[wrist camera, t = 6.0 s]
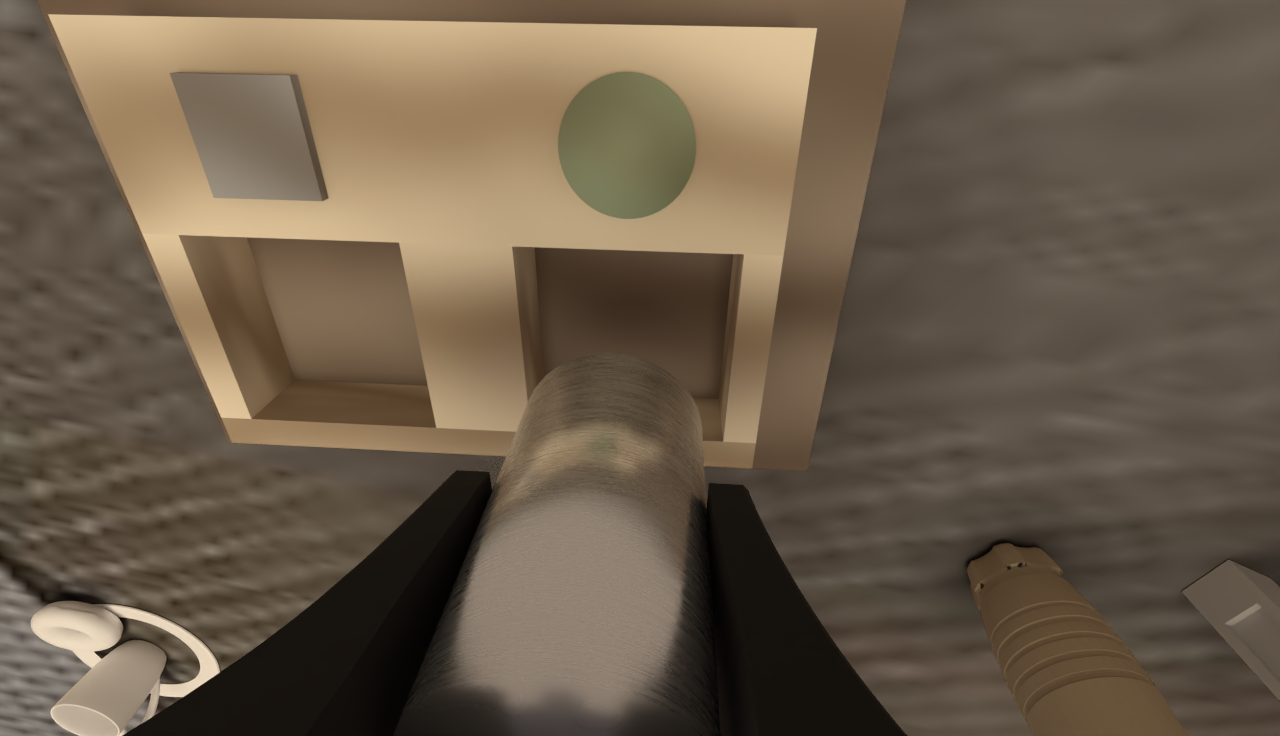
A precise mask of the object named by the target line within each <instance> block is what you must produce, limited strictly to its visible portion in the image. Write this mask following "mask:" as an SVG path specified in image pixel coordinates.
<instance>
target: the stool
mask: <svg viewBox="0 0 1280 736" xmlns="http://www.w3.org/2000/svg"><path fill="white" fill-rule="evenodd" d="M1181 592H1182V593H1183V594H1184V595H1185V596H1186V597H1187V598H1188V599H1189V601H1190V602H1191V603H1192V604H1193V605H1194V606H1195V607H1196V608H1197V609H1198V611H1199V612H1200V613H1201V614H1202V615H1203V616H1204V617H1205V618H1206V619H1207V621H1208V622H1209V623H1210V624H1211V625H1212V626H1213V627H1214V628H1215V630H1216V631H1217V632H1218V633H1219V634H1220V635H1221V636H1222V637H1223V638H1224V640H1225V641H1226V642H1227V643H1228V644H1229V645H1230V646H1231V647H1232V648H1233V650H1234V651H1235V652H1236V653H1237V654H1238V655H1239V656H1240V657H1241V658H1242V660H1243V661H1244V662H1245V663H1246V664H1247V665H1248V666H1249V667H1250V668H1251V670H1252V671H1253V672H1254V673H1255V674H1256V675H1257V676H1258V677H1259V678H1260V680H1261V681H1262V682H1263V683H1264V684H1265V685H1266V686H1267V687H1268V688H1269V690H1270V691H1271V692H1272V693H1273V694H1274V695H1275V696H1276V697H1277V698H1278V700H1279V701H1280V587H1279V586H1278V585H1277V584H1276V583H1275V582H1274V581H1273V580H1272V579H1271V578H1269V577H1267V576H1264V575H1262V574H1260V573H1258V572H1255V571H1253V570H1251V569H1249V568H1246V567H1244V566H1242V565H1240V564H1237V563H1235V562H1233V561H1231V560H1227V561H1226V562H1224V563H1223V564H1221V565H1220V566H1218V567H1217V568H1215V569H1214V570H1212V571H1211V572H1209V573H1208V574H1207V575H1205V576H1204V577H1202V578H1201V579H1199V580H1198V581H1196V582H1195V583H1193V584H1192V585H1190V586H1189V587H1187V588H1186V589H1184V590H1183V591H1181Z"/></svg>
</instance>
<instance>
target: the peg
mask: <svg viewBox="0 0 1280 736" xmlns="http://www.w3.org/2000/svg"><path fill="white" fill-rule="evenodd" d="M393 736H720V720H719V703H718V686H717V669H716V653H715V636H714V619H713V603H712V586H711V569H710V555H709V541H708V524H707V502H706V485H705V469H704V452H703V435H702V423H701V417H700V413H699V410H698V407H697V405H696V403H695V401H694V399H693V397H692V396H691V394H690V393H689V391H688V390H687V389H686V387H685V386H684V385H683V384H682V383H681V382H680V381H679V380H678V379H677V378H675V377H674V376H673V375H672V374H671V373H669V372H668V371H666V370H664V369H663V368H661V367H660V366H658V365H655V364H653V363H651V362H649V361H646V360H643V359H640V358H637V357H633V356H628V355H622V354H594V355H587V356H583V357H579V358H576V359H573V360H571V361H568V362H566V363H564V364H562V365H560V366H558V367H557V368H555V369H554V370H552V371H551V372H550V373H548V374H547V375H546V376H545V377H544V378H543V379H542V380H541V381H540V382H539V384H538V385H537V386H536V388H535V389H534V391H533V393H532V395H531V397H530V399H529V401H528V404H527V406H526V409H525V411H524V414H523V416H522V418H521V421H520V423H519V426H518V428H517V431H516V433H515V436H514V438H513V441H512V443H511V446H510V448H509V451H508V453H507V455H506V458H505V460H504V463H503V465H502V468H501V470H500V473H499V475H498V478H497V480H496V483H495V485H494V487H493V490H492V492H491V495H490V497H489V500H488V502H487V505H486V507H485V510H484V512H483V515H482V517H481V519H480V522H479V524H478V527H477V529H476V532H475V534H474V537H473V539H472V542H471V544H470V547H469V549H468V551H467V554H466V556H465V559H464V561H463V564H462V566H461V569H460V571H459V574H458V576H457V579H456V581H455V584H454V586H453V588H452V591H451V593H450V596H449V598H448V601H447V603H446V606H445V608H444V611H443V613H442V616H441V618H440V620H439V623H438V625H437V628H436V630H435V633H434V635H433V638H432V640H431V643H430V645H429V648H428V650H427V652H426V655H425V657H424V660H423V662H422V665H421V667H420V670H419V672H418V675H417V677H416V680H415V682H414V684H413V687H412V689H411V692H410V694H409V697H408V699H407V702H406V704H405V707H404V709H403V712H402V714H401V716H400V719H399V721H398V724H397V726H396V729H395V731H394V735H393Z"/></svg>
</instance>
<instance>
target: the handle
mask: <svg viewBox="0 0 1280 736" xmlns="http://www.w3.org/2000/svg"><path fill="white" fill-rule="evenodd" d="M967 573H968V577H969V580H970V582H971V584H970V588H971V591H972V595H973V598H974V600H975V603H976V605H977V608H978V610H979V611H980V613H981V616H982V620H983V624H984V627H985V630H986V633H987V636H988V638H989V641H990V644H991V647H992V649H993V652H994V654H995V657H996V659H997V661H998V664H999V665H1000V668H1001V671H1002V673H1003V676H1004V678H1005V680H1006V682H1007V683H1008V686H1009V689H1010V691H1011V693H1012V695H1013V697H1014V699H1015V700H1016V702H1017V704H1018V707H1019V708H1020V710H1021V712H1022V714H1023V716H1024V718H1025V720H1026V721H1027V722H1028V725H1029V728H1030V729H1031V731H1032V733H1033V735H1034V736H1188V735H1187V733H1186V732H1185V730H1184V729H1183V727H1182V725H1181V724H1180V722H1179V721H1178V719H1177V718H1176V716H1175V715H1174V713H1173V711H1172V710H1171V708H1170V707H1169V705H1168V704H1167V702H1166V701H1165V699H1164V698H1163V696H1162V694H1161V693H1160V692H1159V691H1158V690H1157V689H1156V687H1155V685H1154V683H1153V682H1152V680H1151V679H1150V677H1149V676H1148V675H1147V673H1146V672H1145V671H1144V670H1143V668H1142V667H1141V665H1140V664H1139V662H1138V661H1137V660H1136V658H1135V657H1134V656H1133V654H1132V653H1131V652H1130V651H1129V649H1128V648H1127V647H1126V645H1125V644H1124V643H1123V641H1122V640H1121V639H1120V638H1119V636H1118V635H1117V634H1116V633H1115V632H1114V631H1113V629H1112V628H1111V627H1110V626H1109V624H1108V623H1107V622H1106V621H1105V620H1104V619H1103V618H1102V617H1101V615H1100V614H1099V613H1098V612H1097V611H1096V609H1095V608H1094V607H1093V606H1092V605H1091V604H1090V603H1089V602H1088V601H1087V600H1086V599H1085V598H1084V597H1083V595H1082V594H1081V593H1080V592H1079V591H1078V590H1076V589H1075V588H1074V587H1073V586H1072V585H1071V584H1070V583H1069V582H1068V581H1067V580H1065V579H1063V578H1061V577H1060V576H1061V574H1062V573H1064V572H1063V571H1062V570H1061V569H1060V568H1059V567H1058V565H1057V564H1056V563H1055V562H1054V561H1053V560H1052V559H1051V558H1050V557H1049V556H1048V555H1047V554H1046V553H1045V552H1044V551H1043V550H1041V549H1039V548H1036V547H1032V548H1023V547H1016V546H1013V545H1012V544H1010V543H1002V544H998V545H995V546H993V548H992V550H991V551H990V552H988V553H987V554H985V555H984V556H982V557H980V558H979V559H976V560H973V561H971V562H970V564H969V566H968V568H967Z"/></svg>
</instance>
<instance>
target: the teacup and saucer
mask: <svg viewBox="0 0 1280 736" xmlns="http://www.w3.org/2000/svg"><path fill="white" fill-rule="evenodd" d="M118 617H124V618H131V619H136V620H140V621H144V622H147V623H150V624H153V625H155V626H158V627H160V628H162V629H164V630H166V631H168V632H170V633H172V634H173V635H175V636H176V637H178V638H179V639H181V640H182V641H183V642H185V643H186V644H187V645H188V646H189V647H190V648H191V649H192V650H193V651H194V653H195V654H196V655H197V657H198V659H199V662H200V673H199V674H198V676H197V677H196V678H195V679H193V680H192V681H190V682H187V683H183V684H174V685H168V684H160V675H161V673H162V671H163V669H164V666H165V663H166V660H167V657H166V654H165V653H164V651H163V650H161V649H160V648H159V647H157V646H156V645H154V644H152V643H149V642H146V641H142V640H130V641H127V642H125V643H123V644H122V645H120V646H118V647H117V648H116V649H114V650H113V651H111V652H110V653H109V654H108V655H106V656H105V657H104V658H103V659H101V658H100V657H98V656H97V655H96V654H95V653H94V652H93V651H100V650H104V649H107V648H110V647H112V646H113V645H115V644H116V643H117V642H118V641H119V640H120V638H121V635H122V632H123V625H122V622H121V620H120V619H119V618H118ZM31 628H32V630H33V632H34V633H35V634H36V635H37V636H38V637H40V638H41V639H43V640H44V641H46V642H48V643H50V644H52V645H55V646H58V647H61V648H65V649H69V650H72V651H73V652H74V653H75V654H76V655H77V656H78V657H79V658H80V659H81V660H82V661H83V662H84V663H86V664H87V665H88V666H90V667H91V668H92V669H91V670H90V671H89V672H88V673H87V674H86V675H85V676H84V677H83V678H82V679H81V680H80V681H79V682H77V683H76V684H75V685H74V686H73V687H72V688H71V689H70V690H69V691H68V692H67V693H66V694H65V695H64V696H63V697H62V698H61V699H60V700H59V701H58V702H57V703H56V705H55V706H54V707H53V708H52V709H51V716H52V718H53V719H54V721H55V722H56V723H57V724H59V725H60V726H61V727H63V728H64V729H66V730H68V731H70V732H72V733H74V734H76V735H79V736H122V735H124V734H126V733H127V732H126V725H127V724H128V723H129V721H130V720H131V718H132V717H133V716H134V714H135V713H136V712H137V710H138V709H139V707H140V706H141V705H142V703H143V702H144V700H145V699H146V698H147V696H148V695H149V693H150V694H151V698H150V703H149V706H148V709H147V712H146V715H145V717H144V719H143V721H142V723H143V722H145V721H147V720H148V719H150V718H152V717H153V716H154V714H155V711H156V708H157V704H158V700H159V695H161V696H169V697H184V696H186V695H187V694H189V693H190V692H192V691H193V690H195V689H196V688H198V687H199V686H201V685H202V684H203V683H205V682H206V681H208V680H209V679H211V678H212V677H214V676H215V675H217V674H218V673H220V668H219V664H218V662H217V660H216V658H215V656H214V655H213V653H212V652H211V651H210V649H209V648H208V647H207V646H206V645H205V644H204V643H203V642H202V641H201V640H200V639H198V638H197V637H196V636H195V635H193V634H192V633H190V632H189V631H187V630H186V629H184V628H183V627H181V626H179V625H177V624H176V623H174V622H172V621H170V620H168V619H165V618H163V617H161V616H158V615H156V614H153V613H150V612H147V611H144V610H141V609H137V608H133V607H128V606H123V605H115V604H89V603H85V602H79V601H59V602H54V603H51V604H48V605H46V606H45V607H43V608H42V609H40V610H39V611H37V612H36V613H35V614H34V616H33V617H32V620H31ZM142 723H141V724H142Z"/></svg>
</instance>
